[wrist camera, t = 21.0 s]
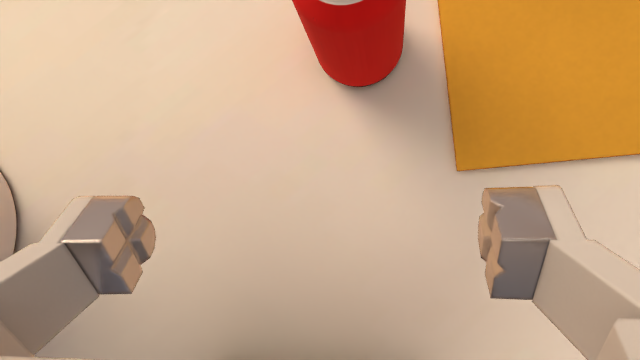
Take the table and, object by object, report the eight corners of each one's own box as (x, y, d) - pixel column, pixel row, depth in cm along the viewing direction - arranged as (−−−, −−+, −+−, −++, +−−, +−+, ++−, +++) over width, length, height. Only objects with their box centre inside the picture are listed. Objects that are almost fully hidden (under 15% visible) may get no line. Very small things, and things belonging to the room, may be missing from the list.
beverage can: (347, 107, 33) (323, 42, 21) (302, 40, 34) (256, -58, 22) (419, 60, 33) (435, -34, 21) (372, -7, 34) (362, -133, 22)
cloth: (456, 171, 31) (458, 170, 31) (428, -84, 34) (428, -91, 33) (679, 150, 29) (686, 148, 29) (634, -120, 32) (639, -128, 31)
